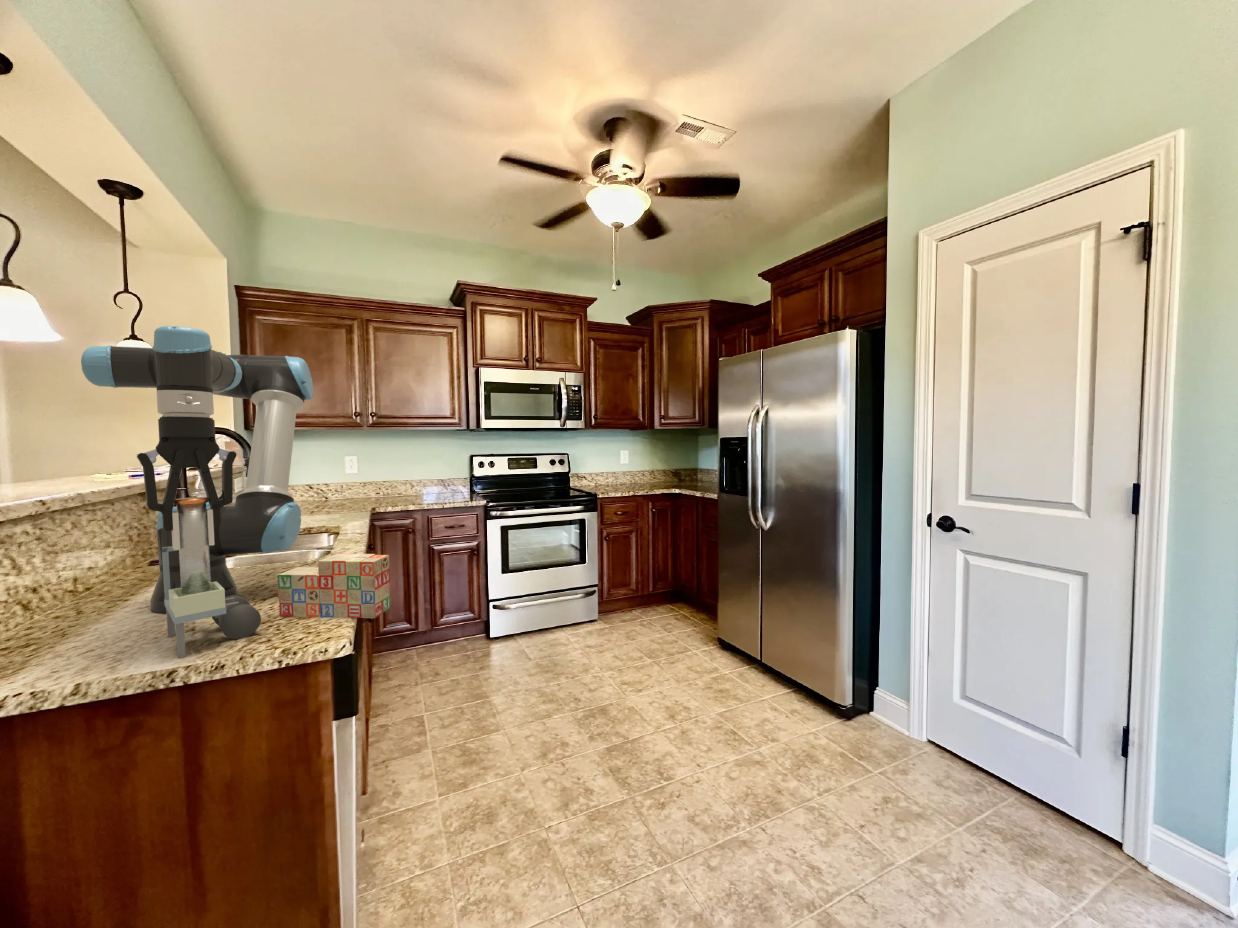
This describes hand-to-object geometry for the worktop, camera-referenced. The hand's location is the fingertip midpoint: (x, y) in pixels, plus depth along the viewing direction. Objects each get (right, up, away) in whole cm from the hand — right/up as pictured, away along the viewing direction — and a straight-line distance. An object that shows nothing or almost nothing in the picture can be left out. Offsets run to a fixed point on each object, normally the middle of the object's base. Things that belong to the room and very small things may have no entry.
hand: (193, 546), depth 87 cm
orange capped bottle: (0, -8, 0) cm, 8 cm away
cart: (-1, -18, +6) cm, 19 cm away
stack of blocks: (+15, -18, +18) cm, 30 cm away
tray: (0, -11, +1) cm, 11 cm away
